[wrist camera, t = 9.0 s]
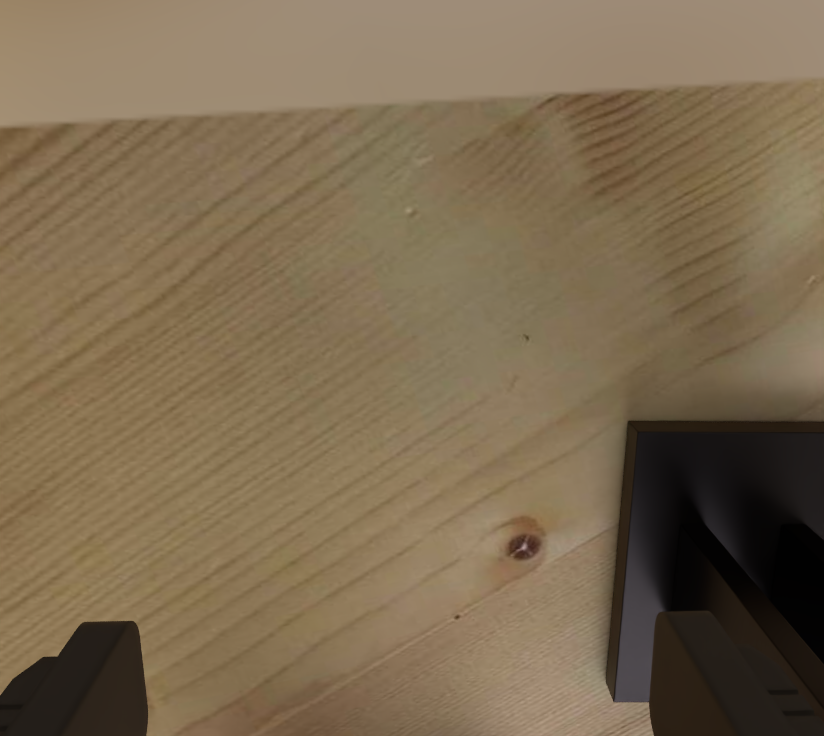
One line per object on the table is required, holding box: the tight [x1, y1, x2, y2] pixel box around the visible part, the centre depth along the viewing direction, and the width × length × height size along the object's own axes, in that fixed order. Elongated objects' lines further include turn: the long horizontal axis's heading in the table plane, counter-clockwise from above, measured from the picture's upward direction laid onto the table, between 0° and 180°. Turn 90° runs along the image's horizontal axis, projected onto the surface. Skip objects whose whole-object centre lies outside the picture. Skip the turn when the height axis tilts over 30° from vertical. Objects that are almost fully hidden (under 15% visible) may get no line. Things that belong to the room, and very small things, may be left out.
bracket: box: [606, 421, 824, 723], centre depth 26 cm, size 12×9×14 cm
